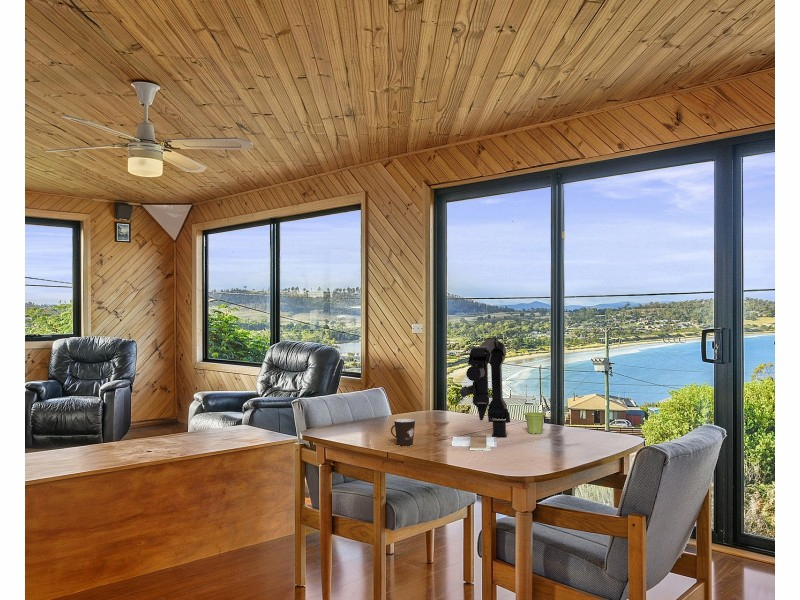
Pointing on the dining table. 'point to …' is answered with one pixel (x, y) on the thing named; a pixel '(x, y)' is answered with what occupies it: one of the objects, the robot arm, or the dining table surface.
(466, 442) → the channel
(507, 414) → the robot arm
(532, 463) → the dining table surface
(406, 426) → the coffee mug
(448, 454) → the dining table surface
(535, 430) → the plant pot
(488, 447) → the coaster
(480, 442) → the block
